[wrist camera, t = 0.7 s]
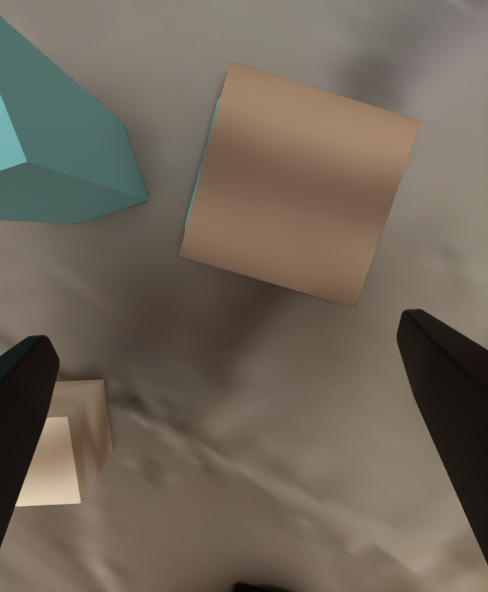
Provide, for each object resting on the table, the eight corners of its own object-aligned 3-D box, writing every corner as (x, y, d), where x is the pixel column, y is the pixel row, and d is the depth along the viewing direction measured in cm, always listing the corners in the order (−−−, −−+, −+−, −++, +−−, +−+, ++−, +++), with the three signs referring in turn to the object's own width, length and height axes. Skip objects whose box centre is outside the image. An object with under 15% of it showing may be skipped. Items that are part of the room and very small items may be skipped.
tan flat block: (341, 298, 23) (355, 308, 20) (183, 251, 23) (174, 254, 20) (397, 136, 22) (421, 121, 19) (228, 83, 21) (225, 59, 18)
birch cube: (113, 449, 25) (80, 503, 20) (39, 453, 25) (-12, 507, 20) (104, 378, 24) (67, 416, 19) (27, 382, 24) (-29, 421, 19)
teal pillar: (149, 200, 22) (27, 161, 10) (78, 223, 22) (-128, 215, 10) (122, 122, 21) (-47, -25, 9) (49, 147, 22) (-212, 37, 9)
